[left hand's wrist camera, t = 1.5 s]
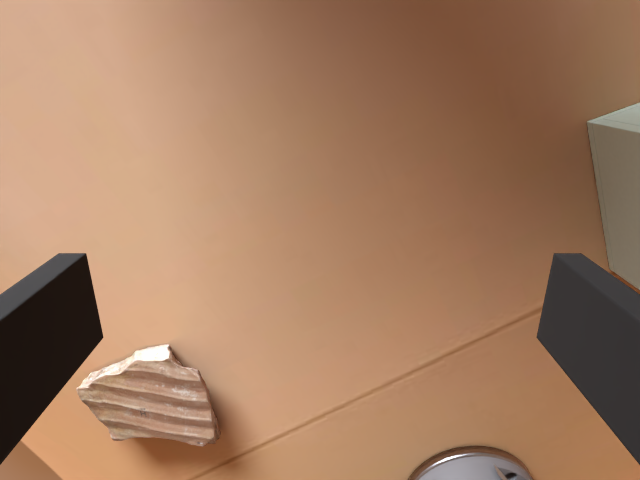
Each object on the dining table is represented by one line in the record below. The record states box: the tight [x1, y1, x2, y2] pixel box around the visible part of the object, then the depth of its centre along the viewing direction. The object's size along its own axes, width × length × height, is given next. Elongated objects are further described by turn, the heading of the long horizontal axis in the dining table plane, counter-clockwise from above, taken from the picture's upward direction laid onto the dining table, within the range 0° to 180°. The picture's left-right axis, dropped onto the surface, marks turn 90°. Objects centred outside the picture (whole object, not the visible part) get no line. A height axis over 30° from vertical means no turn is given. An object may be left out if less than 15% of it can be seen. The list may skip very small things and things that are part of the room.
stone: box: [77, 344, 221, 446], centre depth 46 cm, size 13×12×2 cm
